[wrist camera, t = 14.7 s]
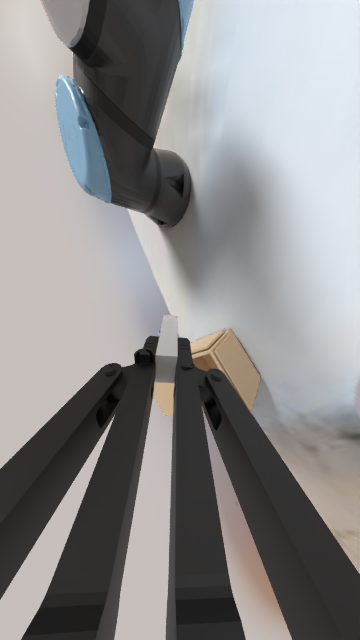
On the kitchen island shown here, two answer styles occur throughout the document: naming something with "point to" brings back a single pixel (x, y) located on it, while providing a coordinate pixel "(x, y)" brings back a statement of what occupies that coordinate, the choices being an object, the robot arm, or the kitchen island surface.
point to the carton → (228, 362)
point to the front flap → (164, 396)
